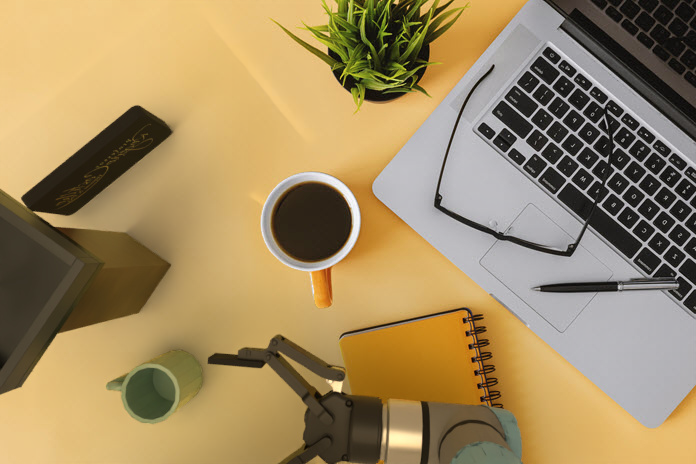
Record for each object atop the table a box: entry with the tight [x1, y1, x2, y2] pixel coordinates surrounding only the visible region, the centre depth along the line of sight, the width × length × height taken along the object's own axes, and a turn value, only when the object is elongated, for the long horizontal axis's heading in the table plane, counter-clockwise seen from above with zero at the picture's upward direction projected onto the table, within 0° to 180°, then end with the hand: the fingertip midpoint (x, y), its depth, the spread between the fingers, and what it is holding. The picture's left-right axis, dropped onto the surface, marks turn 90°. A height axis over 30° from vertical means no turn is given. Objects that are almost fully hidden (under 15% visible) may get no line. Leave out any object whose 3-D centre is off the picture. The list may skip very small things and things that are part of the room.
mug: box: [105, 349, 204, 425], centre depth 69 cm, size 11×8×9 cm
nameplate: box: [20, 104, 173, 217], centre depth 71 cm, size 21×2×10 cm, turn 129°
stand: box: [54, 226, 172, 335], centre depth 62 cm, size 9×9×26 cm
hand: (206, 414), depth 58 cm, fingers open, 13 cm apart
